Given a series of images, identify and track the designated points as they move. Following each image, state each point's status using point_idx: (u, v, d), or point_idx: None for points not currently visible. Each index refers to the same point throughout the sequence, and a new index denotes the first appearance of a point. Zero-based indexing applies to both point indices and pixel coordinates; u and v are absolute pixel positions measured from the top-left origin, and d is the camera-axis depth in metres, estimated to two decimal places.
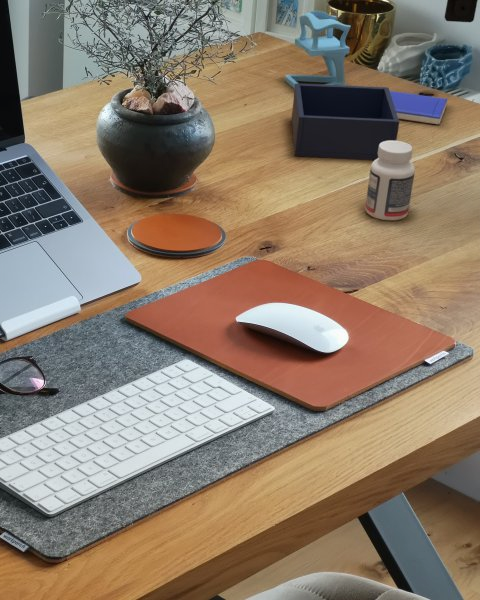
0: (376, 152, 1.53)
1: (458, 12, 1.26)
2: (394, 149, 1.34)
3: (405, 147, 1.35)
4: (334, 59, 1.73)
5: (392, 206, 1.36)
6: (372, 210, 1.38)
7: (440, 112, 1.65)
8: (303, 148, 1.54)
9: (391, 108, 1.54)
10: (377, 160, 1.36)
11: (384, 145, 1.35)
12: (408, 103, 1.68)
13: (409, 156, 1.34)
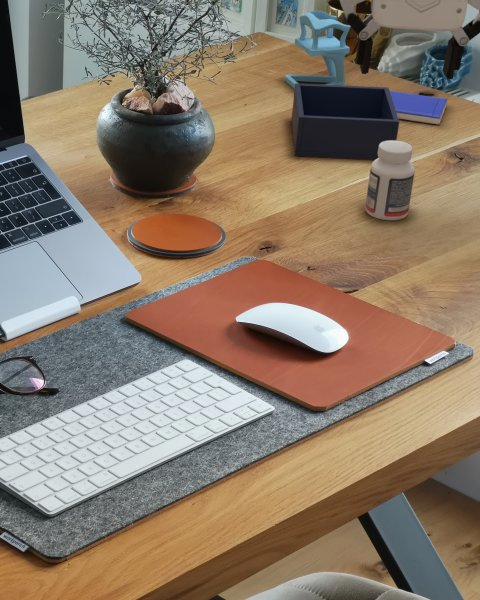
0: (376, 152, 1.53)
1: (356, 58, 1.31)
2: (394, 149, 1.34)
3: (405, 147, 1.35)
4: (334, 59, 1.73)
5: (392, 206, 1.36)
6: (372, 210, 1.38)
7: (440, 112, 1.65)
8: (303, 148, 1.54)
9: (391, 108, 1.54)
10: (377, 160, 1.36)
11: (384, 145, 1.35)
12: (408, 103, 1.68)
13: (409, 156, 1.34)
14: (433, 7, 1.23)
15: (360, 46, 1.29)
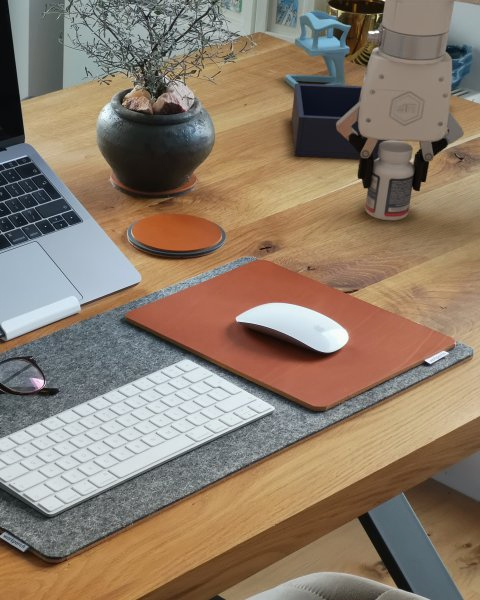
0: (376, 152, 1.53)
1: (358, 173, 1.38)
2: (394, 149, 1.34)
3: (405, 147, 1.35)
4: (334, 59, 1.73)
5: (392, 206, 1.36)
6: (372, 210, 1.38)
7: None
8: (303, 148, 1.54)
9: None
10: (377, 160, 1.36)
11: (384, 145, 1.35)
12: None
13: (409, 156, 1.34)
14: (415, 121, 1.30)
15: (362, 163, 1.36)
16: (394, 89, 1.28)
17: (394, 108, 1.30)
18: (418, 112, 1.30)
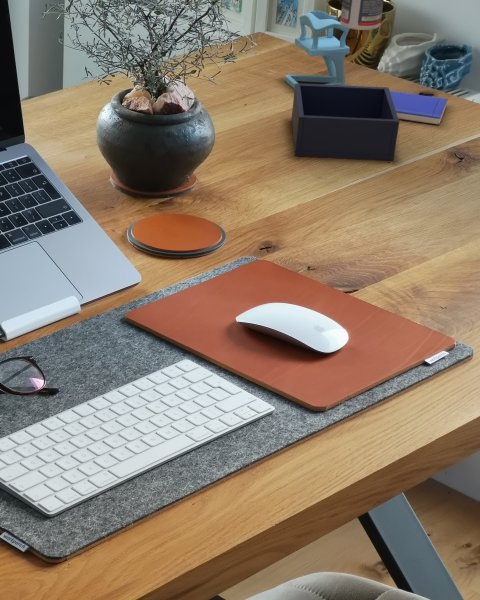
0: (376, 152, 1.53)
1: None
2: None
3: None
4: (334, 59, 1.73)
5: (365, 14, 1.45)
6: (347, 21, 1.47)
7: (440, 112, 1.65)
8: (303, 148, 1.54)
9: (391, 108, 1.54)
10: None
11: None
12: (408, 103, 1.68)
13: None
14: None
15: None
16: None
17: None
18: None
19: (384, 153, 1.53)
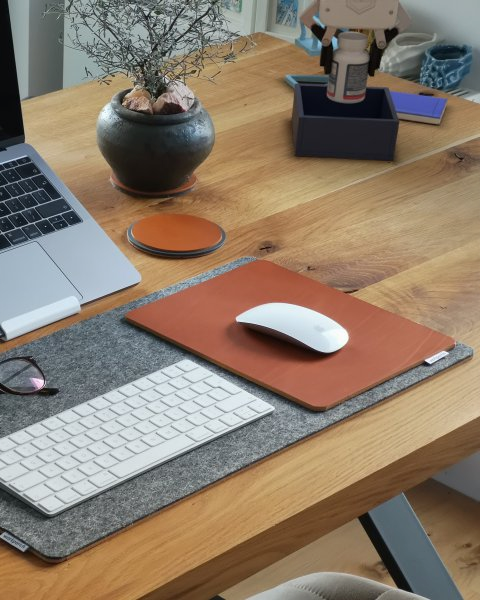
0: (376, 152, 1.53)
1: (320, 61, 1.54)
2: (351, 38, 1.51)
3: (361, 36, 1.51)
4: None
5: (350, 89, 1.53)
6: (332, 94, 1.54)
7: (440, 112, 1.65)
8: (303, 148, 1.54)
9: (391, 108, 1.54)
10: (337, 49, 1.53)
11: (342, 34, 1.52)
12: (408, 102, 1.68)
13: (364, 44, 1.51)
14: (369, 9, 1.47)
15: (323, 51, 1.52)
16: None
17: None
18: (371, 1, 1.46)
19: (384, 153, 1.53)
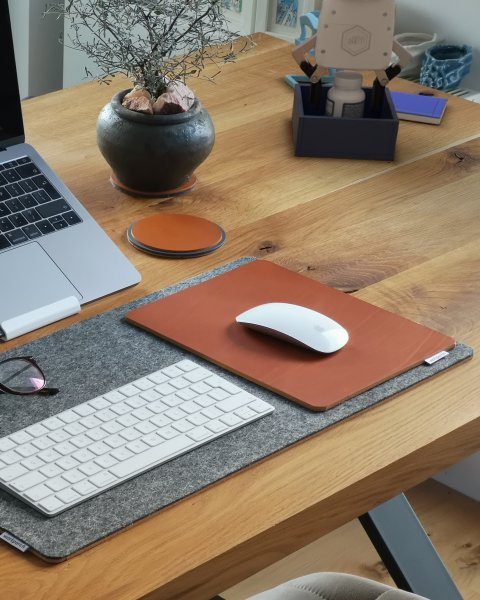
0: (376, 152, 1.53)
1: (309, 97, 1.57)
2: (346, 77, 1.54)
3: (356, 75, 1.54)
4: None
5: None
6: None
7: (440, 112, 1.65)
8: (303, 148, 1.54)
9: (391, 108, 1.54)
10: (332, 88, 1.56)
11: (338, 74, 1.55)
12: (408, 102, 1.68)
13: (360, 83, 1.54)
14: (364, 51, 1.50)
15: (312, 87, 1.55)
16: (344, 23, 1.48)
17: (345, 40, 1.49)
18: (366, 44, 1.49)
19: (384, 153, 1.53)
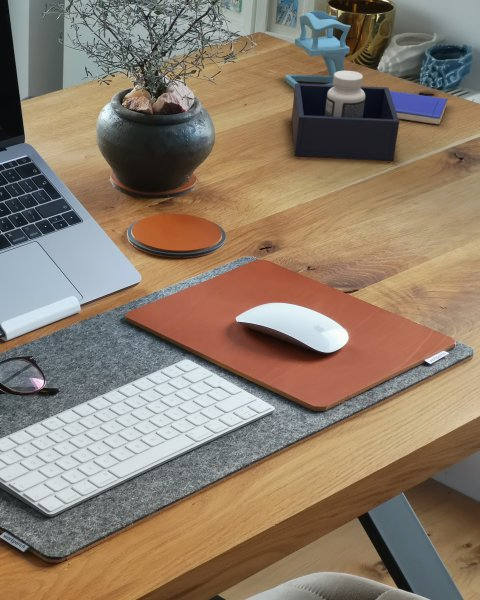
0: (376, 152, 1.53)
1: None
2: (346, 77, 1.54)
3: (356, 75, 1.54)
4: (334, 59, 1.73)
5: None
6: None
7: (440, 112, 1.65)
8: (303, 148, 1.54)
9: (391, 108, 1.54)
10: (332, 88, 1.56)
11: (338, 74, 1.55)
12: (408, 102, 1.68)
13: (360, 83, 1.54)
14: None
15: None
16: None
17: None
18: None
19: (384, 153, 1.53)
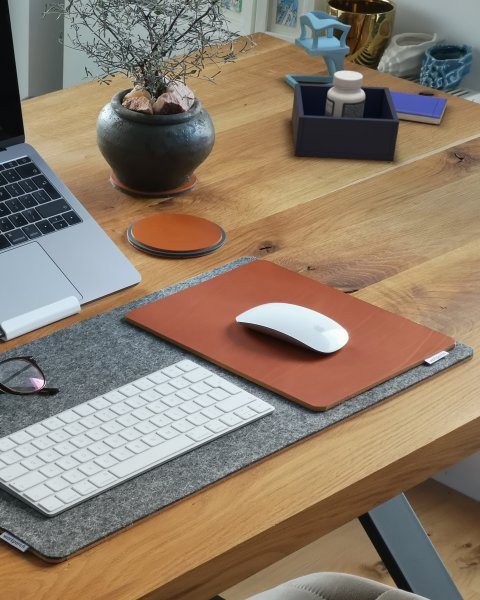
0: (376, 152, 1.53)
1: None
2: (347, 77, 1.54)
3: (356, 75, 1.54)
4: (334, 59, 1.73)
5: None
6: None
7: (440, 112, 1.65)
8: (303, 148, 1.54)
9: (391, 108, 1.54)
10: (332, 88, 1.56)
11: (338, 74, 1.55)
12: (408, 102, 1.68)
13: (360, 83, 1.54)
14: None
15: None
16: None
17: None
18: None
19: (384, 153, 1.53)
